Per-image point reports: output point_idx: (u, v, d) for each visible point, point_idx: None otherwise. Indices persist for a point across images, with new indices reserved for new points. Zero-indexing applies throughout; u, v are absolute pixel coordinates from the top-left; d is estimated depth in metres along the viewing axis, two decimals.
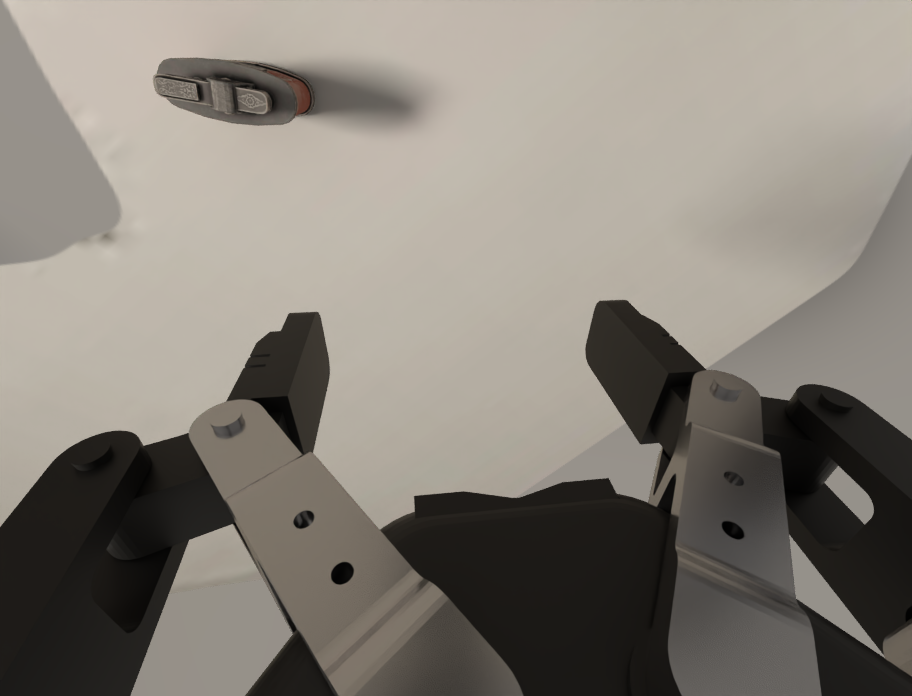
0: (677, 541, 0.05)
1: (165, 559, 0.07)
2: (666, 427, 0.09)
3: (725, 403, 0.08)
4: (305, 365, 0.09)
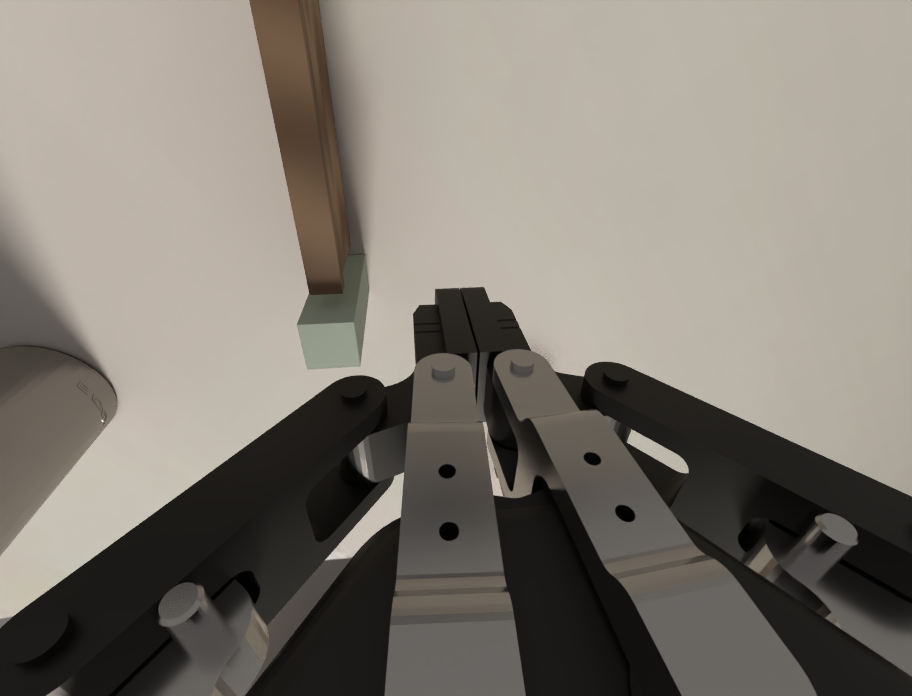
0: (677, 541, 0.05)
1: (364, 496, 0.08)
2: (487, 405, 0.10)
3: (511, 378, 0.08)
4: None
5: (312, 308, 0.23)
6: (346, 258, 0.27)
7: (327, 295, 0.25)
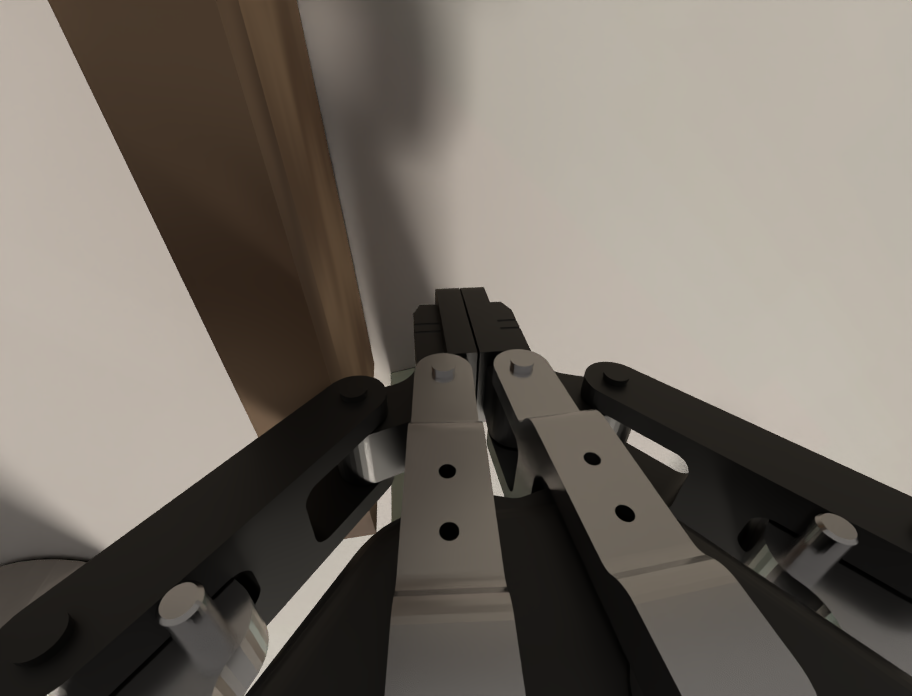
0: (677, 541, 0.05)
1: (364, 496, 0.08)
2: (487, 405, 0.10)
3: (511, 378, 0.08)
4: None
5: None
6: None
7: None
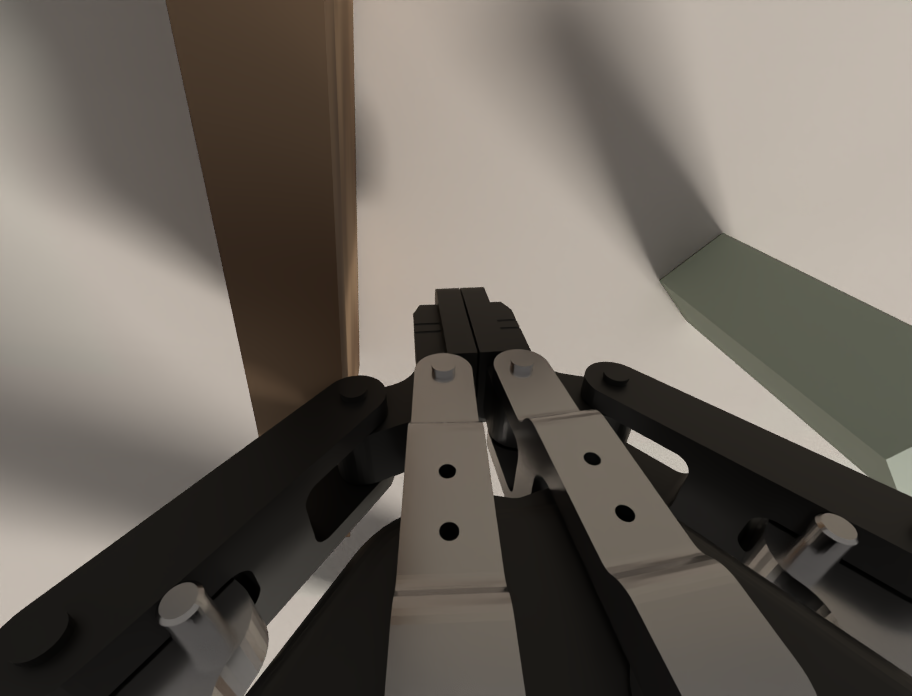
0: (677, 541, 0.05)
1: (364, 497, 0.08)
2: (487, 405, 0.10)
3: (511, 378, 0.08)
4: None
5: (838, 396, 0.11)
6: None
7: (812, 349, 0.12)
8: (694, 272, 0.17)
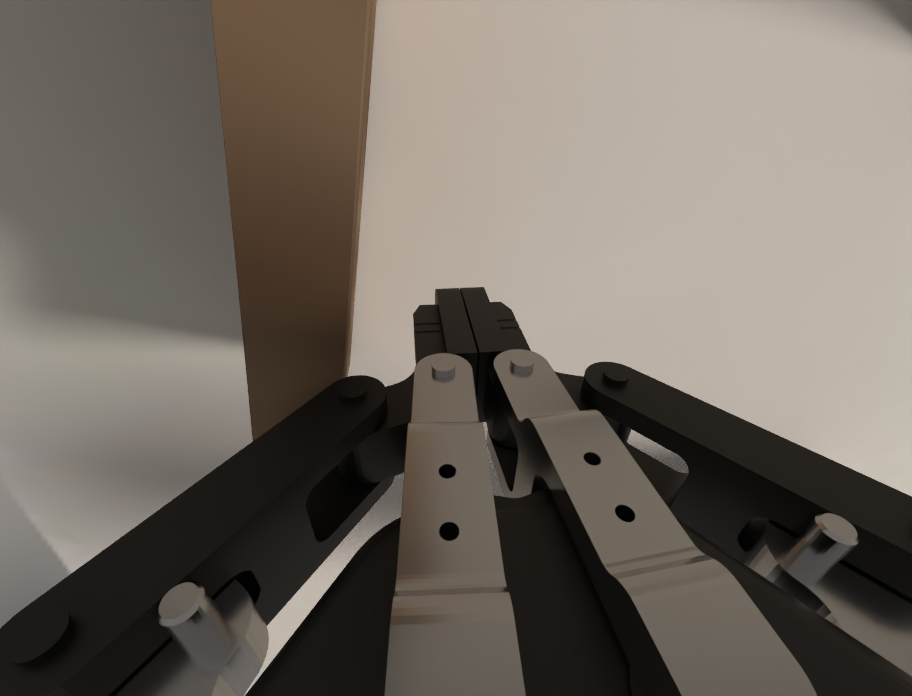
0: (677, 541, 0.05)
1: (365, 497, 0.08)
2: (486, 405, 0.10)
3: (511, 378, 0.08)
4: None
5: None
6: None
7: None
8: None
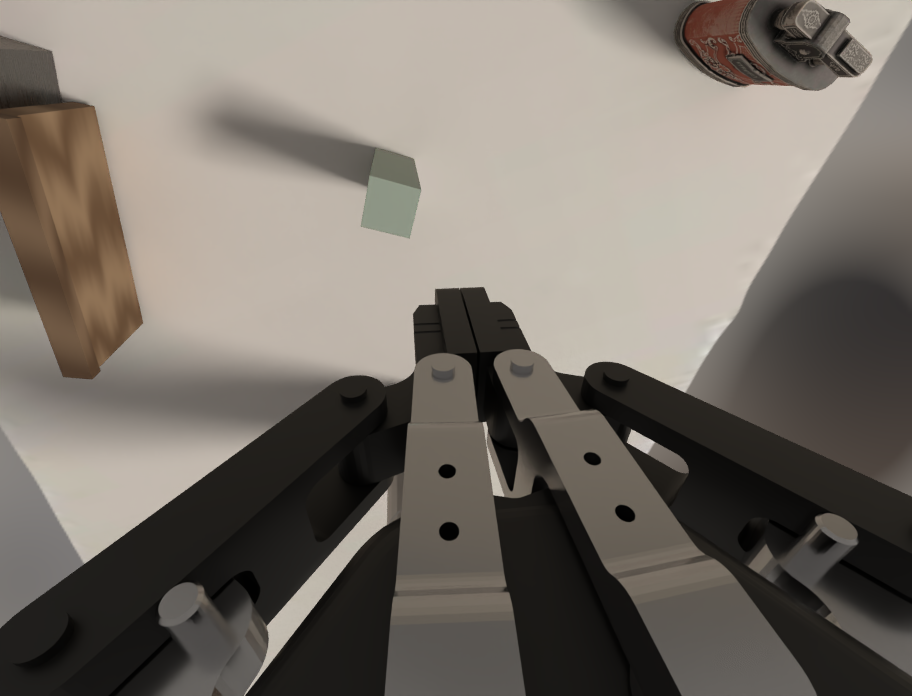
0: (677, 541, 0.05)
1: (364, 496, 0.08)
2: (487, 405, 0.10)
3: (511, 378, 0.08)
4: None
5: None
6: (126, 339, 0.34)
7: None
8: None
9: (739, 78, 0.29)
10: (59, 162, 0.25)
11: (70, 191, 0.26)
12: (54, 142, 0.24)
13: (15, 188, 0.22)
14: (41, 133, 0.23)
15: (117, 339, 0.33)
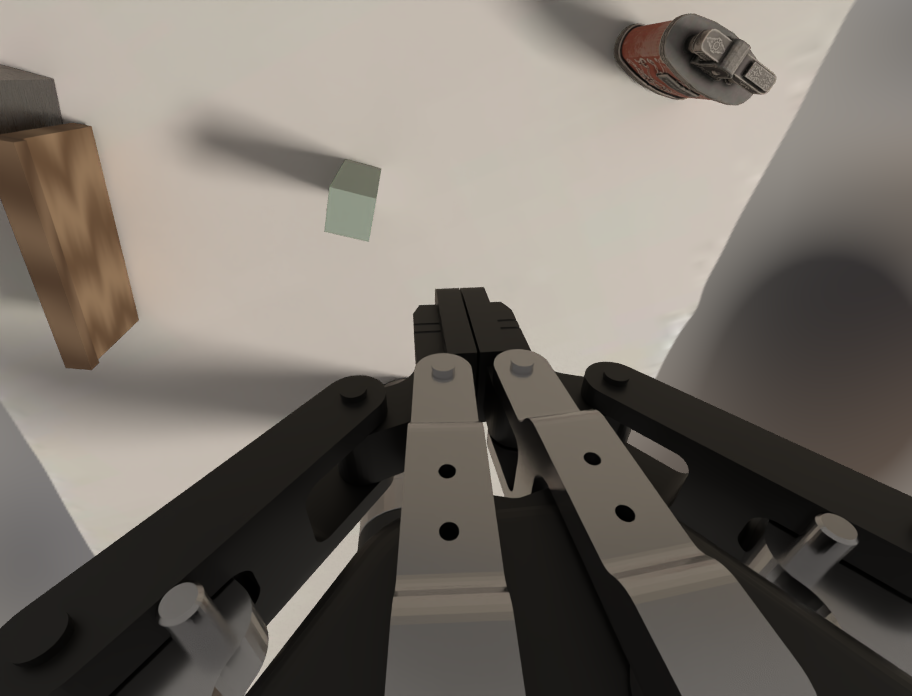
0: (677, 541, 0.05)
1: (364, 496, 0.08)
2: (487, 405, 0.10)
3: (511, 378, 0.08)
4: None
5: None
6: (122, 335, 0.37)
7: None
8: None
9: (674, 92, 0.32)
10: (60, 177, 0.28)
11: (70, 202, 0.29)
12: (56, 159, 0.28)
13: (22, 201, 0.26)
14: (44, 152, 0.27)
15: (114, 334, 0.36)
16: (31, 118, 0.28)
